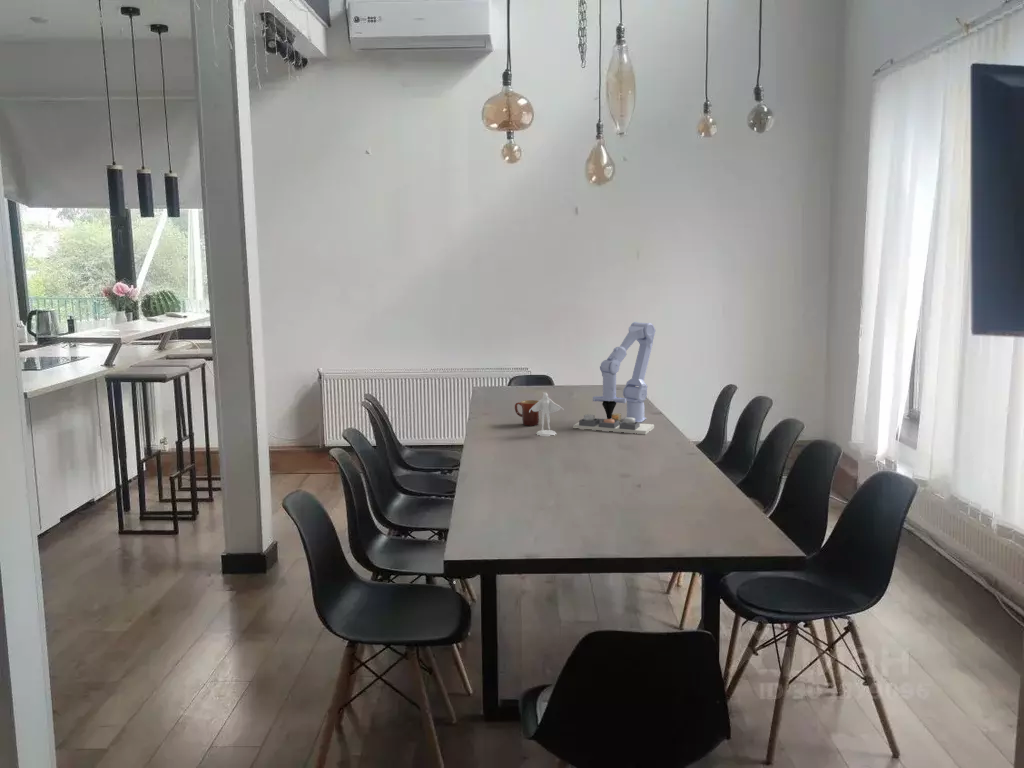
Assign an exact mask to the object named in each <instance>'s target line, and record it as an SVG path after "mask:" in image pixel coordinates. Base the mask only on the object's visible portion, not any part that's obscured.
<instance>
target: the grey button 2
mask: <svg viewBox="0 0 1024 768" xmlns="http://www.w3.org/2000/svg"><path fill="white" fill-rule="evenodd" d="M623 421H624V424H630V425H635V418H633V417H627V416H626V417H624V418H623Z"/></svg>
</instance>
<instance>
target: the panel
mask: <svg viewBox="0 0 1024 768" xmlns="http://www.w3.org/2000/svg"><path fill="white" fill-rule="evenodd" d="M604 419H605V418H598V417H596V418H595V421H594V422H590V421H584V417H583V418H582V419H580V420H579V421H578V422H576V423H575V424H573V425H572V429H573V428H580V429H579V430H584V429H592V430H591V431H596V430H602V431H601V432H609V431H613V432H612V433H621V432H624V434H633V433H635V434H636V433H637V435H647V434H648V433H650V432H651V431H652V430H653V429H655V424H651V423H640V422H635V425H630V424H624V419H621V420H620V422H619V420H615V423H604ZM649 431H650V432H649Z"/></svg>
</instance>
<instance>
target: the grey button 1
mask: <svg viewBox="0 0 1024 768" xmlns="http://www.w3.org/2000/svg"><path fill="white" fill-rule="evenodd" d="M595 417H596V416H595V414H589V413H588V414H583V418H584V421H590V422H594V421H595Z"/></svg>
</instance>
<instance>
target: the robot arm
mask: <svg viewBox="0 0 1024 768" xmlns="http://www.w3.org/2000/svg"><path fill="white" fill-rule="evenodd" d="M655 334H656V328H655V326H654V324H653V323H652V322H638V321H633V322H632V323H631V324H630V326H629V327H628V332H627V334H626V336H625V337H624V339H623V341H622V342H621V344H620V345H619V346H615V347H614V348H613V350H612V352H611V353H610V355H609V356H608V357H607V358H606V359H604V360H603V361H601V363H600V365H599V370H600V371H601V376H602V395H601V396H600V395H599V396H597V395H596V396H593V397H592V402H600V403H601V405H602V407H603V409H604V411H605V414H606V419H612V414H614V413H613V412H614V410H615V407H616V405H617V404H618V403H619V404H626V417H633V418H635V422H640V424H642V423H643V422H644V421H645V420H647V417H645V410H646V409H645V403H644V402H645V400H646V399H647V396H648V385H647V384H646V382H645V378H646V373H647V369H648V365H649V361H650V357H651V352H652V350H653V349H652V348H653V345H654V339H655ZM636 341H637V342H638V344H639V347H638V350H637V356H636V360H635V365H634V368H633V371H632V376H631V379H629V380H628V381H626V383H625V386H624V388H623V390H622V396H623V397H617V373H618V372H619V370H620V367H621V364H622V362H623V360H624V359H625V358H626V357H627V355H628V354H627V351H628V350H629V348H630V347H631V346H632V345H634V343H635V342H636Z"/></svg>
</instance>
